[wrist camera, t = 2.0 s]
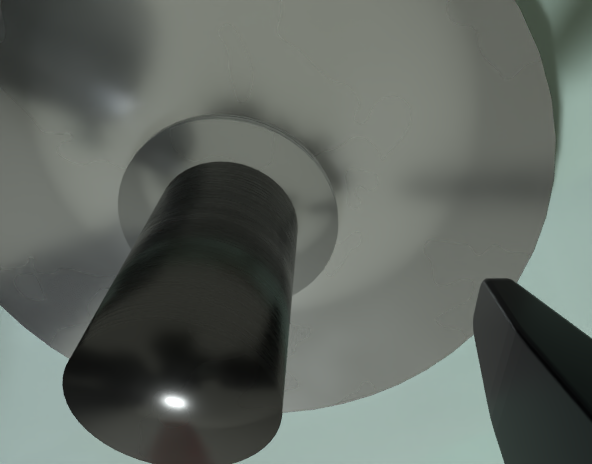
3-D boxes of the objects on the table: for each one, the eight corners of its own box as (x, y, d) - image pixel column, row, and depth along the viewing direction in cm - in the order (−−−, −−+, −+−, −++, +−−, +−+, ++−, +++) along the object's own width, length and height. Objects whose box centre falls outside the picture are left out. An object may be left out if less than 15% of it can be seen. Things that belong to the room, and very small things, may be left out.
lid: (481, 393, 14) (555, 627, 9) (45, 385, 15) (-79, 597, 10) (632, -192, 7) (1174, -360, 3) (-202, -151, 8) (-920, -228, 3)
